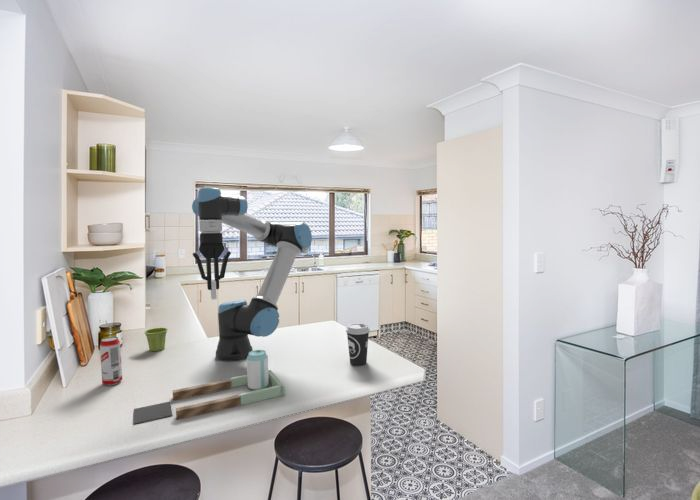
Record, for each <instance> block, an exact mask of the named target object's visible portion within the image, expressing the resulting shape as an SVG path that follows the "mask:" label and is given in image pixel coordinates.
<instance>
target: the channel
mask: <svg viewBox="0 0 700 500" xmlns="http://www.w3.org/2000/svg"><path fill="white" fill-rule="evenodd" d="M230 388H231V381H230V378H229V379H224V380H219V381H214V382H209V383H205V384H204V383H203V384H199V385H192V386H189V387H184V388H182V387H181V388H177V389H174V390H172V400H173V401H176V400H177V399H178V400H182V399H186V398H187V399H188V398H191V396H192V397H196V395H197V396H200V395H201V394H202V395H205V393H207V394H211V393H215V391H216V392H220V390H221V391H224V390H225V389H226V390H230ZM231 389H232V388H231ZM238 406H239V407H240V406H241V404H240V395H239V394H236V395H231V396H226V397H222V398H218V399H217V398H216V399H214V400H208V401H203V402H199V403H195V404H190V405H185V406H181V407H175V417H176V420H182V419H185V418H190V417H193V416H195V417H196V416H199V415H203V414H207V413H212V412H215V411H221V410H224V409H229V408H234V407H238Z"/></svg>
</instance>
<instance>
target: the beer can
mask: <svg viewBox="0 0 700 500" xmlns="http://www.w3.org/2000/svg"><path fill="white" fill-rule="evenodd" d="M100 341H101V342H100V344H99V356H100V367H101V368H100V371H101V382H102V383H101V384H103V385H104V386H108V387H110V386H115V385H117V384H120V383H121V381H123V366H122V364H123V363H122V349H121V348H122V347H121V340H119V337H118V336H109V337H105V338H104V337H103V338H102V339H101V340H100Z"/></svg>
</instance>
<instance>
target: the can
mask: <svg viewBox="0 0 700 500" xmlns="http://www.w3.org/2000/svg"><path fill="white" fill-rule="evenodd" d="M248 354H249V355H248V357H247V358H246V373H247V374H246V375H247V381H248V384H247V387H248V388H249V389H250V390H251V391H254V390H259V389H264V388H268V387H269V384H270V382H269V377H268V370H269V356H268V354H267V352H266V350H264V349H253V351H251V352H249V353H248Z"/></svg>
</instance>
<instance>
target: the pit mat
mask: <svg viewBox="0 0 700 500" xmlns="http://www.w3.org/2000/svg"><path fill="white" fill-rule="evenodd" d="M172 416H173V410H172V404H171V401H167V402H162V403H155V404H150V405H145V406H142V407H137V408H133V425H137V424H138V425H139V424H143V423H146V422H153V421H156V420H160V419H165V418H170V417H172Z"/></svg>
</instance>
